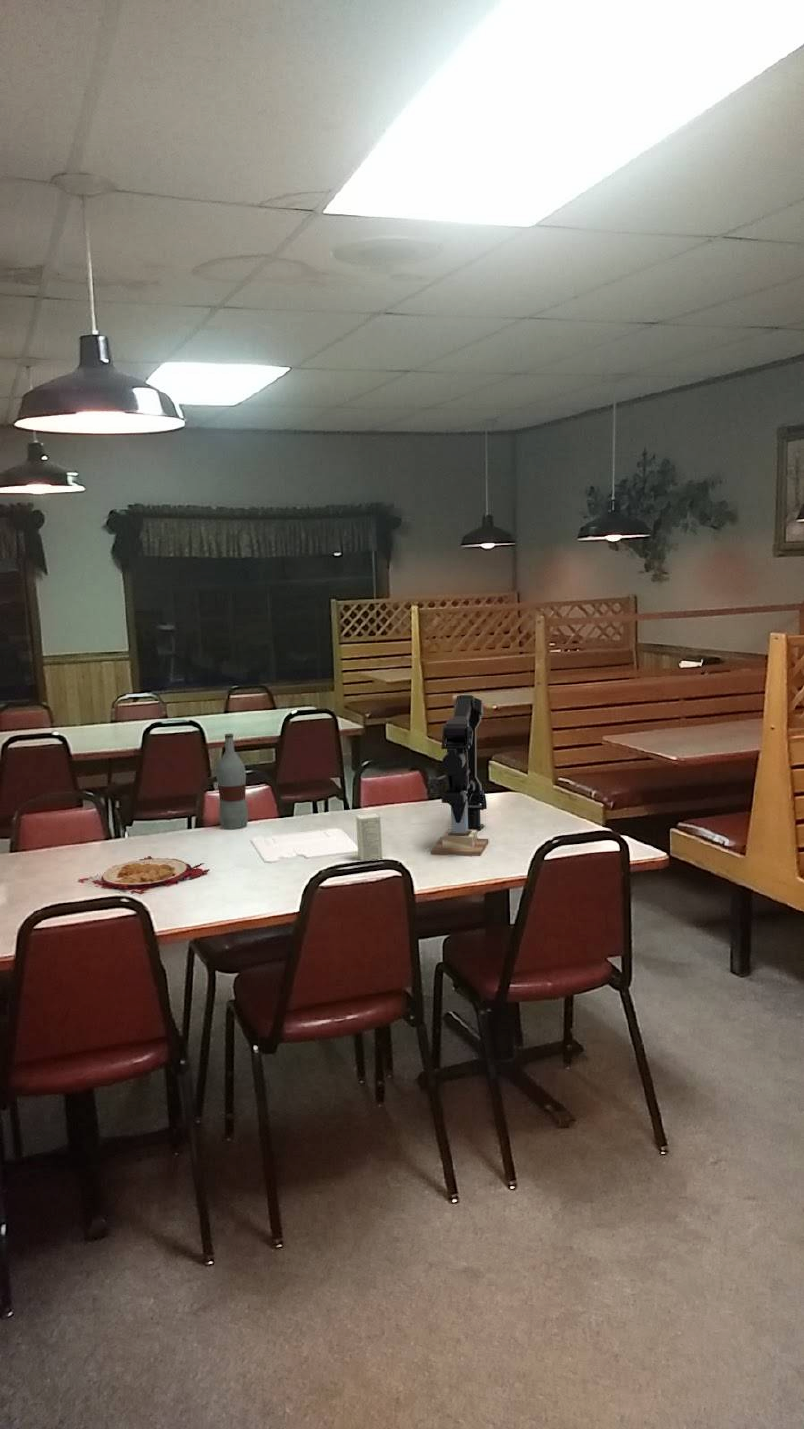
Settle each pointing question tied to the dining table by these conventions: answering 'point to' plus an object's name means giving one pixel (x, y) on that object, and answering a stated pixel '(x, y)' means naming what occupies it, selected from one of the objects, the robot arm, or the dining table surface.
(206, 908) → the dining table surface
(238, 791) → the bottle
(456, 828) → the peg
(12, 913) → the dining table surface
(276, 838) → the tray
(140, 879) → the plate with food
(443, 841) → the socket block
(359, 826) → the skincare box
